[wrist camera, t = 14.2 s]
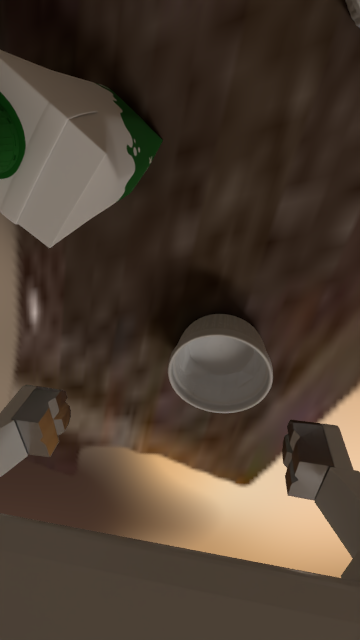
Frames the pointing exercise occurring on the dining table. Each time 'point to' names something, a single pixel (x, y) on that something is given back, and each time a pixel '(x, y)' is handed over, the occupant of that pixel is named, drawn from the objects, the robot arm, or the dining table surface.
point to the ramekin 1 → (220, 365)
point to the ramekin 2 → (354, 10)
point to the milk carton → (65, 148)
